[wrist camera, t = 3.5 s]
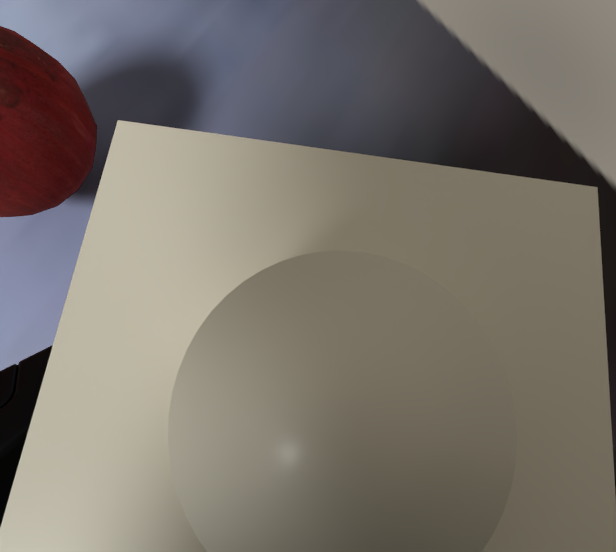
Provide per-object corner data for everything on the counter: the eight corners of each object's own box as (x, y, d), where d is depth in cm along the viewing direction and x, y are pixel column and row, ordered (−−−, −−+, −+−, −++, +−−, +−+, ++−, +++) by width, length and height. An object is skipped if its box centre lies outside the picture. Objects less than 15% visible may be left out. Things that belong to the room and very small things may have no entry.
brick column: (351, 453, 14) (789, 1011, 2) (229, 437, 14) (-215, 884, 2) (363, 331, 15) (680, 136, 3) (250, 315, 15) (70, 49, 3)
